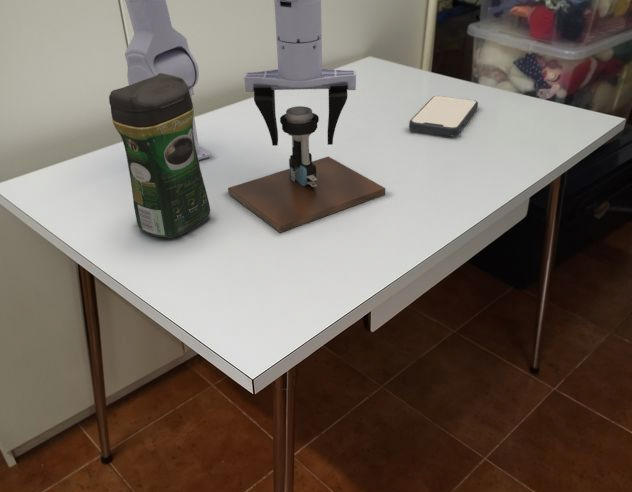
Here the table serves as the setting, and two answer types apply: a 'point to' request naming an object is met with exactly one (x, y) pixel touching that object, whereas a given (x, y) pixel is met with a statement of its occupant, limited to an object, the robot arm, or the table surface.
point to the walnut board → (305, 194)
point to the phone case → (443, 115)
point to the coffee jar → (161, 154)
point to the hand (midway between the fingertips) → (302, 142)
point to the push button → (300, 143)
